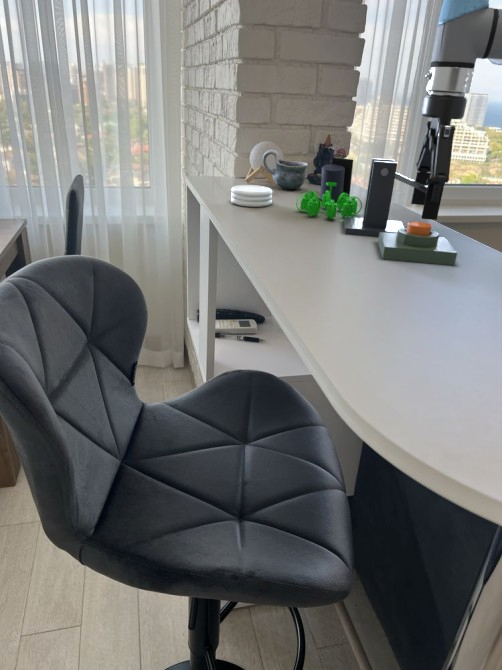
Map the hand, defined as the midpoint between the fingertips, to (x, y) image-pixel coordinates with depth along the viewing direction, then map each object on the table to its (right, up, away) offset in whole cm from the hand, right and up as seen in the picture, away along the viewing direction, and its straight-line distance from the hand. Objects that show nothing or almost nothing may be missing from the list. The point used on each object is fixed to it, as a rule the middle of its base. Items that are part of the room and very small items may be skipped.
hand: (423, 211), depth 102 cm
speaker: (-13, +10, +29) cm, 33 cm away
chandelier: (-17, +3, +15) cm, 23 cm away
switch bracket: (-9, -3, +3) cm, 10 cm away
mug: (-26, +16, +41) cm, 51 cm away
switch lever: (-5, +5, -2) cm, 7 cm away
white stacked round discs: (-35, +7, +21) cm, 41 cm away
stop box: (-5, -10, -11) cm, 16 cm away
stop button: (-5, -7, -13) cm, 15 cm away
